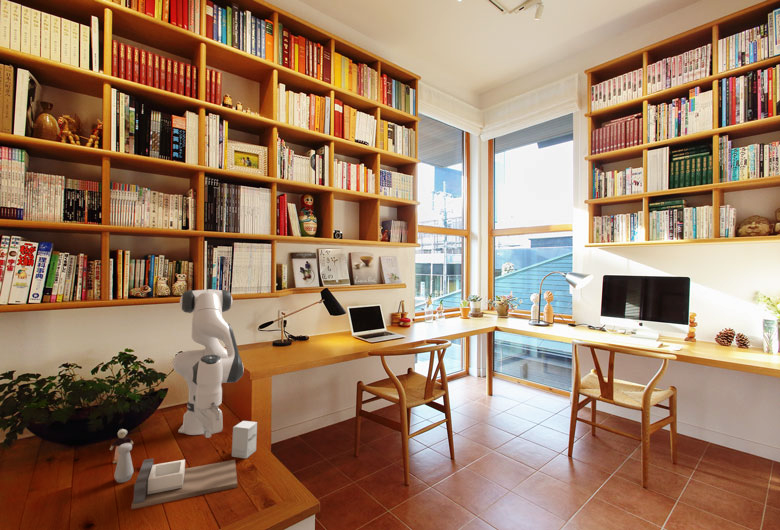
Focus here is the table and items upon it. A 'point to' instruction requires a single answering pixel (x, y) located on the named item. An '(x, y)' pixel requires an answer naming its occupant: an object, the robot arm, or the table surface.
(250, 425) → the supplement box
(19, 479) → the table surface
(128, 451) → the salt shaker
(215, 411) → the robot arm
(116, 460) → the grandmother figurine
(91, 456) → the table surface
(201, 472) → the board
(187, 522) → the table surface
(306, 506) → the table surface
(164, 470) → the frame
